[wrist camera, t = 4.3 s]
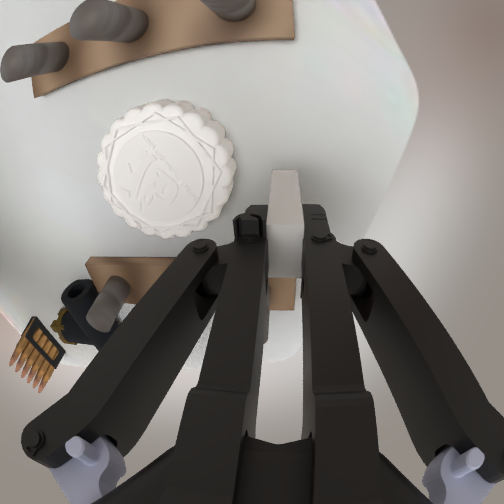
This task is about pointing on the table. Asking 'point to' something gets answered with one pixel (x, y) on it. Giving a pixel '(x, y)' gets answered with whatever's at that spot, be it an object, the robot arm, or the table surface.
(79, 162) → the table surface
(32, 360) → the ammunition clip
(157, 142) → the mooncake
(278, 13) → the rails
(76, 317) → the pipe connector
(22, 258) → the table surface
